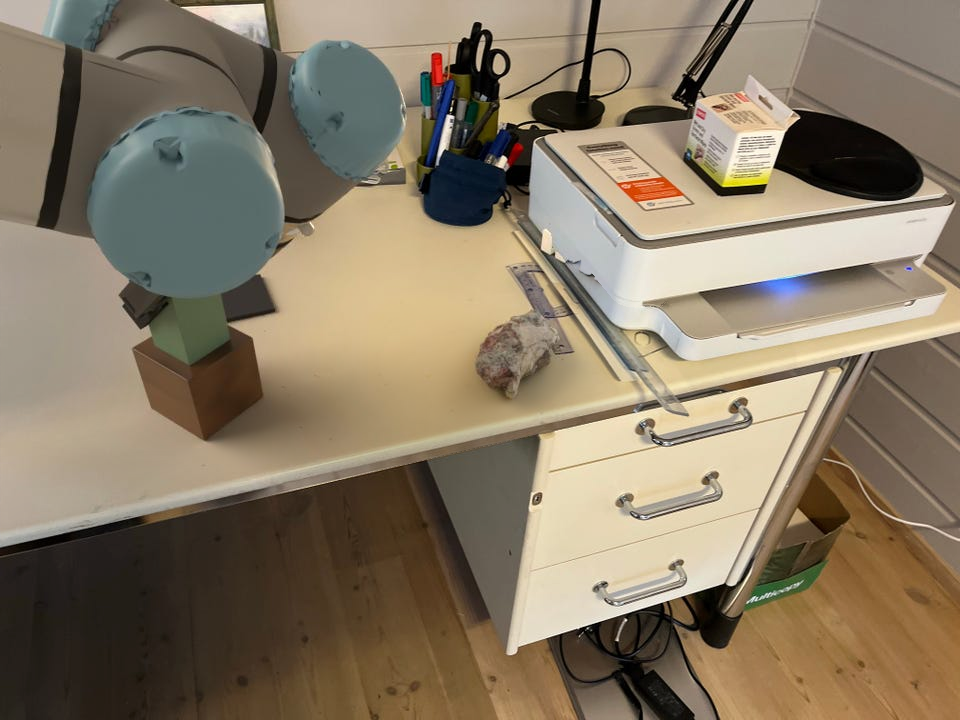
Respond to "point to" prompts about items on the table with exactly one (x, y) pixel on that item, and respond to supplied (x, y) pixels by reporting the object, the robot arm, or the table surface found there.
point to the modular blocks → (549, 245)
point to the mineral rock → (515, 351)
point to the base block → (201, 383)
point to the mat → (247, 300)
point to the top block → (190, 327)
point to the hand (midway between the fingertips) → (159, 301)
